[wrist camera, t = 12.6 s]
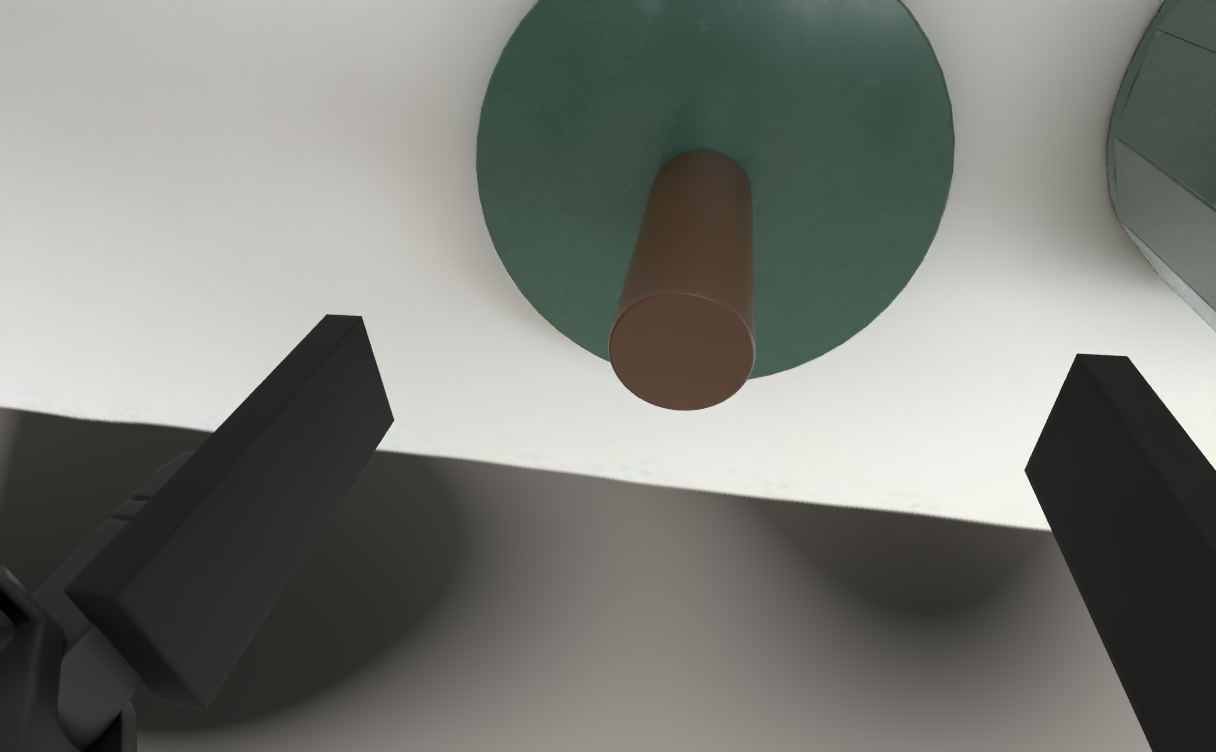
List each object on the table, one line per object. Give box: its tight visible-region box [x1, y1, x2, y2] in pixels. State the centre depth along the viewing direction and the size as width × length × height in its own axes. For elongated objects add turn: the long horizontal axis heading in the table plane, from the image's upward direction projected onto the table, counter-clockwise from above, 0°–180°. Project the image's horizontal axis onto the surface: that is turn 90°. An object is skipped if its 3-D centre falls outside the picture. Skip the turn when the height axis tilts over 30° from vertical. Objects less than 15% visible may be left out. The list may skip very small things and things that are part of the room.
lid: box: [476, 0, 955, 411], centre depth 17 cm, size 14×14×9 cm
